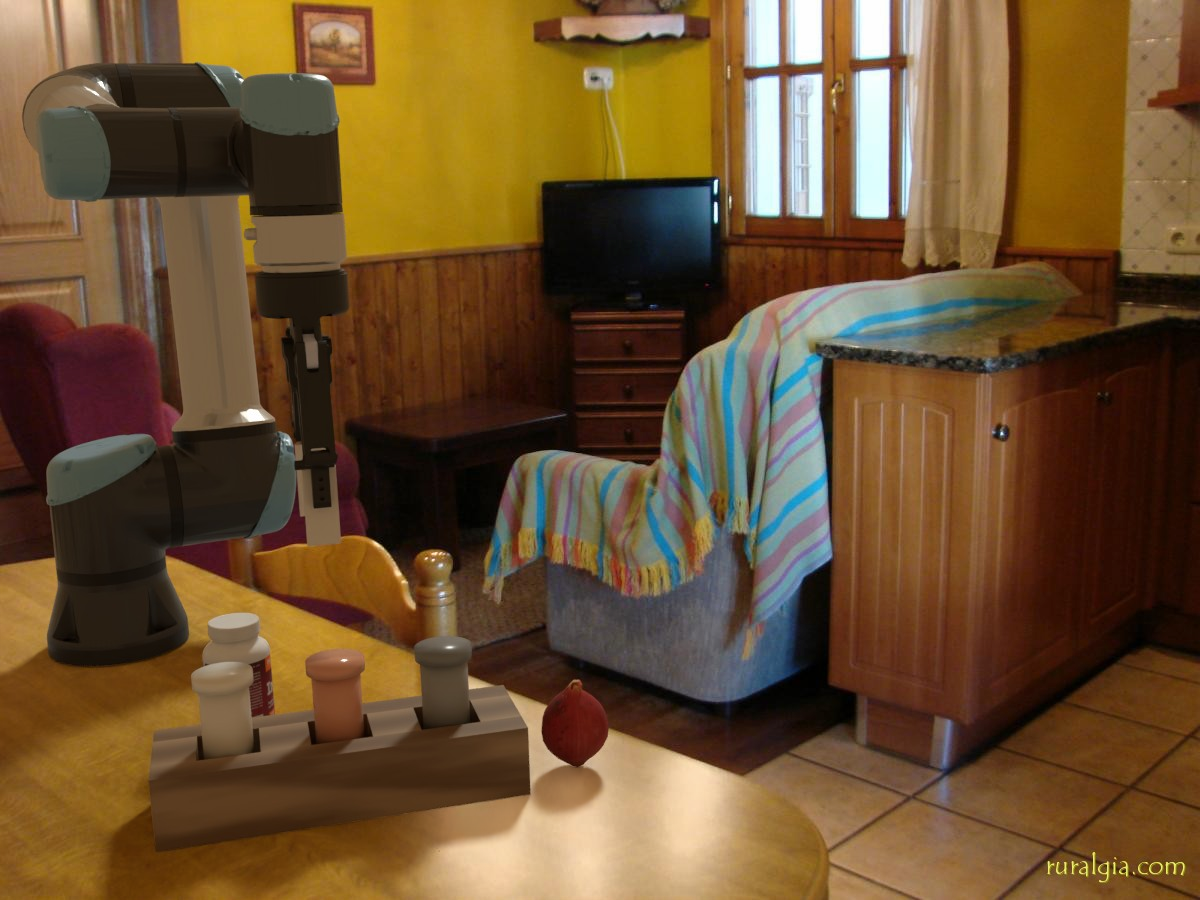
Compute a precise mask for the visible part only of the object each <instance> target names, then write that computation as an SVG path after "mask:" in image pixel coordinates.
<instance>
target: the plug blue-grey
mask: <svg viewBox="0 0 1200 900" xmlns="http://www.w3.org/2000/svg"><path fill="white" fill-rule="evenodd" d="M413 651H414V661H415V662H416V664H418V665H419V673H420V686H421V690H420V692H421V696H422V709H423V727H424V730H425V729H432V728H440V727H447V726H454V725H461V724H469V723H470V704H469V689H470V687H469V667H468V664H469V663H468V662H469V660H471V659H472V657H473V655H472V654H473V652H472V651H473V650H472V642H471V641H470V640H469V639H467V638H464V637H462V636H461V637H459V636H456V635H454V636H452V635H444V636H442V635H441V636H435V637H430V638H426V639H425V638H424V639H423V640H420V641H419V642H417V643H416V644H415V645H414V646H413Z"/></svg>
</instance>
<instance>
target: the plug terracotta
mask: <svg viewBox="0 0 1200 900" xmlns="http://www.w3.org/2000/svg"><path fill="white" fill-rule="evenodd" d="M304 661H305V662H304V663H305V664H304V665H305V675H306V677H307V678H309V679H310V680H311V690H312V693H311V694H312V703H313V706H312V707H313V710H314V720H315V733H316V744H323V743H330V742H338V741H345V740H352V739H359V738H365V734H364V719H363V704H362V703H363V694H362V693H363V690H362V677H361V674H362V673H364V671H365V670H366V669H365V668H366V662H365V654H364V653H363V652H362V651H359V650H356V649H352V648H351V649H350V648H333V649H326V650H321V651H319V652H315V653H313V654H310V655H309V656H307V658H305V660H304Z"/></svg>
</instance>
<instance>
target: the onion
mask: <svg viewBox="0 0 1200 900" xmlns="http://www.w3.org/2000/svg"><path fill="white" fill-rule="evenodd" d="M609 729H610V727H609V721H608V717H607V714H606V711H605V708H604V707H603V705H602V704H601V703H600V701H599V700H598V699H596V697H594V696H593V695H592V694H590V693H589V692H587V691H585V690H584V689H583V683H582V681H581V680H580V679H572V681H570V683H569V684H568V685H567V686H566V687H565V689H564V690H562V691H560V692H559V693H558V694H556V695H555V696H554V697H553V698H552V699H551V700H550V701H549V703H548V704H547V705H546V708H545V709H544V711H543V715H542V719H541V738H542V742H543V743H544V745H545V748H546V749H547V750H548V751H549V752H550V753H551V754H552V755H553V756H555V757H556V758H557V759H558V760H560V761H562V762H564V763H566V764H568V765H569V766H572V767H573V768H580V767H582V766H584V765H585V764H586V762H588V761H589V760H590V759H591V758H593V757H594V756H596V755H597V753H599V751H601V750H602V748H603V747H604V746H605V743H606V741H607V740H608V737H609Z"/></svg>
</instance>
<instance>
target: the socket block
mask: <svg viewBox="0 0 1200 900" xmlns="http://www.w3.org/2000/svg"><path fill="white" fill-rule="evenodd" d="M362 704H363V719H364V734H365V738H359V739H352V740H345V741H338V742H330V743H323V744H316V733H315V720H314V709H308V710H300V711H294V712H292V711H291V712H284V713H278V714H276V713H275V715H268V716H261V717H253V718H252V728H253V740H254V751H255V753H250V754H243V755H236V756H228V757H221V758H214V759H207V760H204V753H203V742H202V732H201V723H200V724H192V725H187V726H185V725H184V726H177V727H172V728H171V727H170V728H162V729H154V730H153V736H152V737H153V738H152V745H151V754H150V762H149V763H150V764H149V772H148V779H147V780H148V781H147V782H148V790H149V791H148V792H149V799H150V800H149V801H150V809H151V817H152V818H151V820H152V827H153V829H152V830H153V840H154V848H155V853H158V852H164V851H165V852H166V851H172V850H179V849H185V848H191V847H197V846H198V847H199V846H204V845H210V844H218V843H225V842H231V841H237V840H243V839H249V838H258V837H263V836H271V835H276V834H282V833H288V832H296V831H302V830H303V831H304V830H309V829H314V828H321V827H328V826H334V825H341V824H347V823H354V822H361V821H367V820H373V819H380V818H385V817H387V818H388V817H394V816H399V815H405V814H411V813H419V812H426V811H431V810H437V809H438V810H439V809H446V808H452V807H458V806H459V807H460V806H466V805H470V804H471V805H472V804H477V803H484V802H492V801H496V800H503V799H511V798H517V797H523V796H529V795H531V794H532V793H531V792H532V791H531V789H532V788H531V769H530V768H531V767H530V744H529V743H530V741H529V727H528V724H527V723H526V722H525V720H524V718H523V717H522V715H521V713H520V711H519V709H518V707H517V706H516V704H515V703H514V701H513V699H512V698H511V695H510V694H509V692H508V691H507V689H506V687H505V685H504V684H501V685H500V684H499V685H492V686H484V687H476V688H469V704H470V723H469V724H461V725H454V726H447V727H440V728H432V729H425V730H424V727H423V709H422V695H417V696H416V695H415V696H407V697H400V698H399V697H398V698H392V699H386V700H385V699H383V700H377V701H369V702H362Z"/></svg>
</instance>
